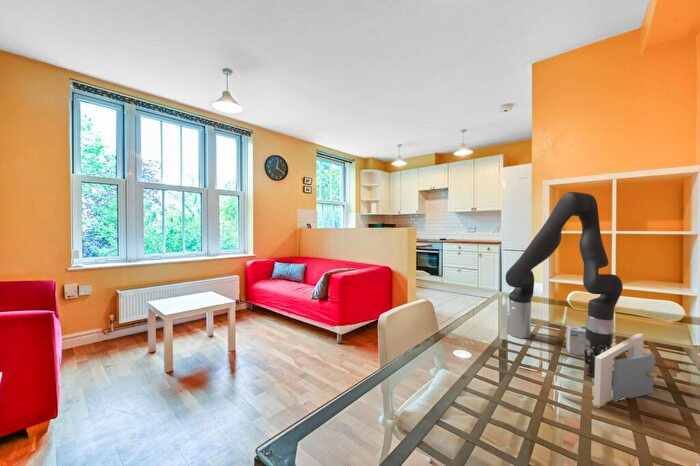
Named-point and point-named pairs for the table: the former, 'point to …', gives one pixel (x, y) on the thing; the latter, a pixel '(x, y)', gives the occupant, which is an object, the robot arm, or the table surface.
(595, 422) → the table surface
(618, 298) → the robot arm
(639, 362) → the door
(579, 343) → the light bulb box
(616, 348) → the wall frame
